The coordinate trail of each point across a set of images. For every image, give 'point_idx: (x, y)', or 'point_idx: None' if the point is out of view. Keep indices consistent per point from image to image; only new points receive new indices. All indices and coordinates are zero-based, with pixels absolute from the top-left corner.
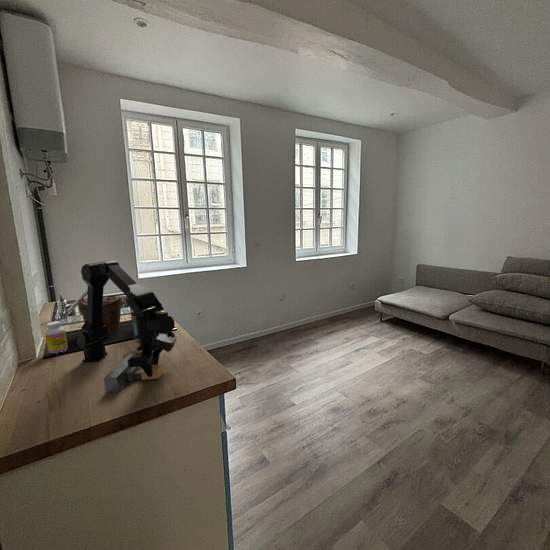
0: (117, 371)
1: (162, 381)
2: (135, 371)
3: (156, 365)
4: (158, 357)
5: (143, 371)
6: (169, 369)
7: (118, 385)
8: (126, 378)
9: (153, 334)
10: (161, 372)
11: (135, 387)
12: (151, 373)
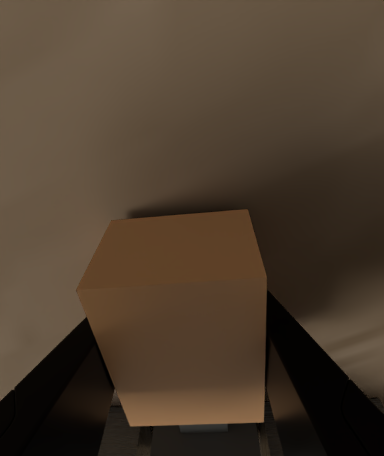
0: None
1: (297, 144)
2: (193, 433)
3: (120, 340)
4: (6, 433)
5: (261, 402)
6: (21, 179)
7: None
8: (266, 434)
9: None
10: (150, 228)
11: (352, 334)
12: (291, 316)
